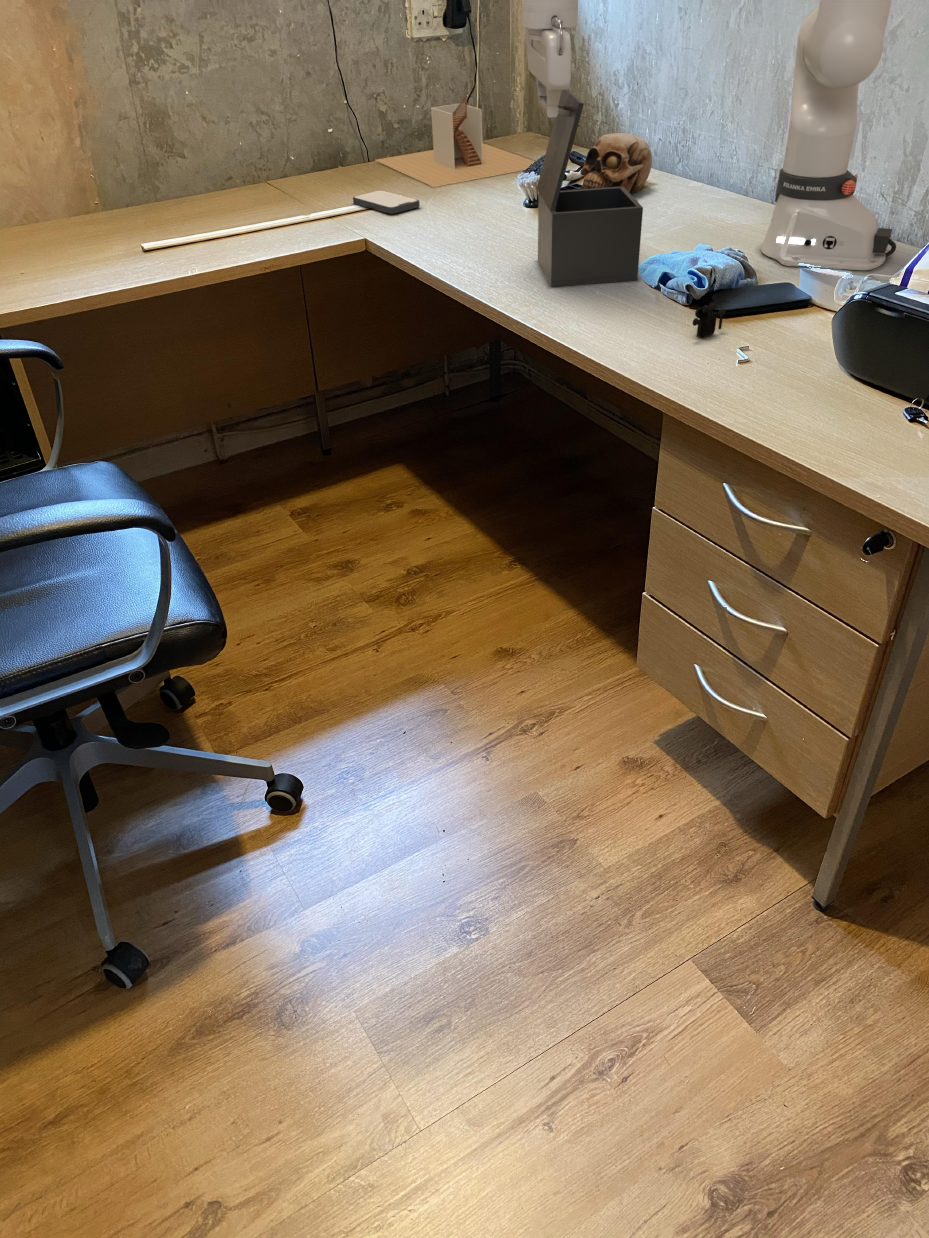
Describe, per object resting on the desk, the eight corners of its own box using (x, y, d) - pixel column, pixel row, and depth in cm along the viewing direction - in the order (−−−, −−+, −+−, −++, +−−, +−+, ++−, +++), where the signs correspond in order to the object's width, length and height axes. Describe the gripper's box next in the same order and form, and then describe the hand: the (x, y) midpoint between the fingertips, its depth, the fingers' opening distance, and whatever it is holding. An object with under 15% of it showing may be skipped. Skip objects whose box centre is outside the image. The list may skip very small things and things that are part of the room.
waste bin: (618, 255, 174) (623, 186, 166) (637, 280, 163) (643, 207, 155) (537, 261, 173) (538, 192, 166) (551, 287, 162) (552, 214, 155)
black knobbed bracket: (693, 343, 140) (697, 311, 137) (681, 338, 142) (685, 306, 139) (724, 331, 143) (729, 300, 140) (712, 327, 145) (717, 295, 142)
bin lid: (566, 88, 155) (539, 81, 154) (584, 104, 144) (554, 96, 143) (540, 190, 165) (514, 184, 164) (554, 212, 154) (526, 205, 153)
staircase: (453, 169, 232) (450, 96, 221) (434, 161, 239) (430, 89, 229) (483, 164, 235) (481, 91, 224) (463, 156, 242) (460, 85, 232)
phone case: (351, 204, 211) (391, 216, 201) (350, 197, 210) (390, 208, 200) (381, 196, 215) (422, 207, 205) (381, 189, 214) (422, 200, 204)
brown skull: (575, 203, 202) (580, 136, 195) (582, 192, 216) (587, 128, 209) (645, 207, 200) (653, 139, 192) (648, 195, 214) (655, 131, 206)
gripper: (582, 19, 135) (578, 123, 143) (557, 5, 150) (555, 100, 159) (541, 22, 134) (539, 126, 143) (520, 8, 150) (520, 102, 159)
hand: (547, 112), depth 151 cm, fingers closed on bin lid, 6 cm apart
